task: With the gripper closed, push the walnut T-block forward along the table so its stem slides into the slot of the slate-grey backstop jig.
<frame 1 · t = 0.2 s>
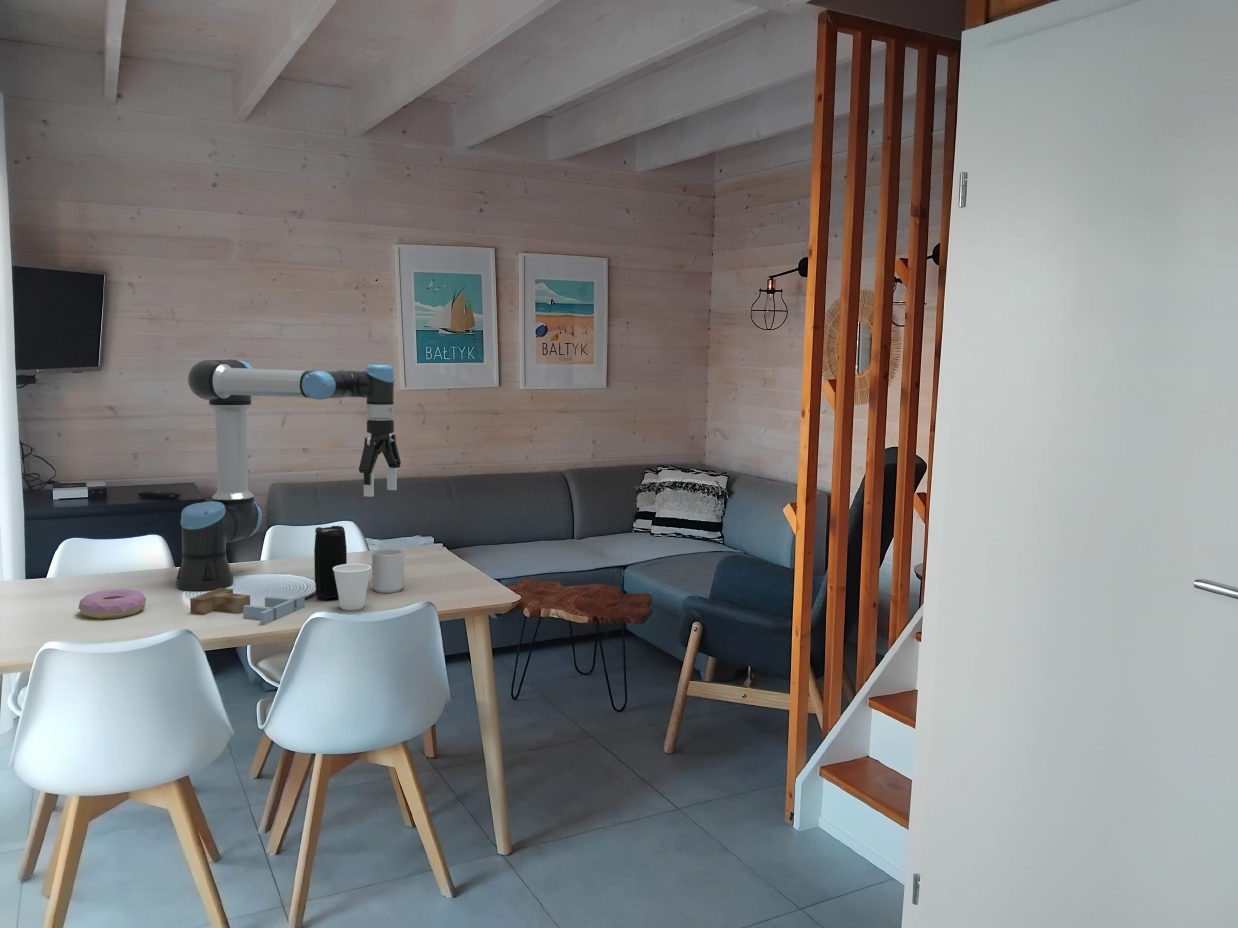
hand: (380, 493, 274), 28 cm above the table, fingers open, 13 cm apart
portable speaker: (331, 598, 266), on the table
t block: (212, 608, 252), on the table
slot jig: (266, 613, 248), on the table
mug: (387, 589, 277), on the table
cup: (352, 608, 256), on the table
donut: (113, 613, 246), on the table
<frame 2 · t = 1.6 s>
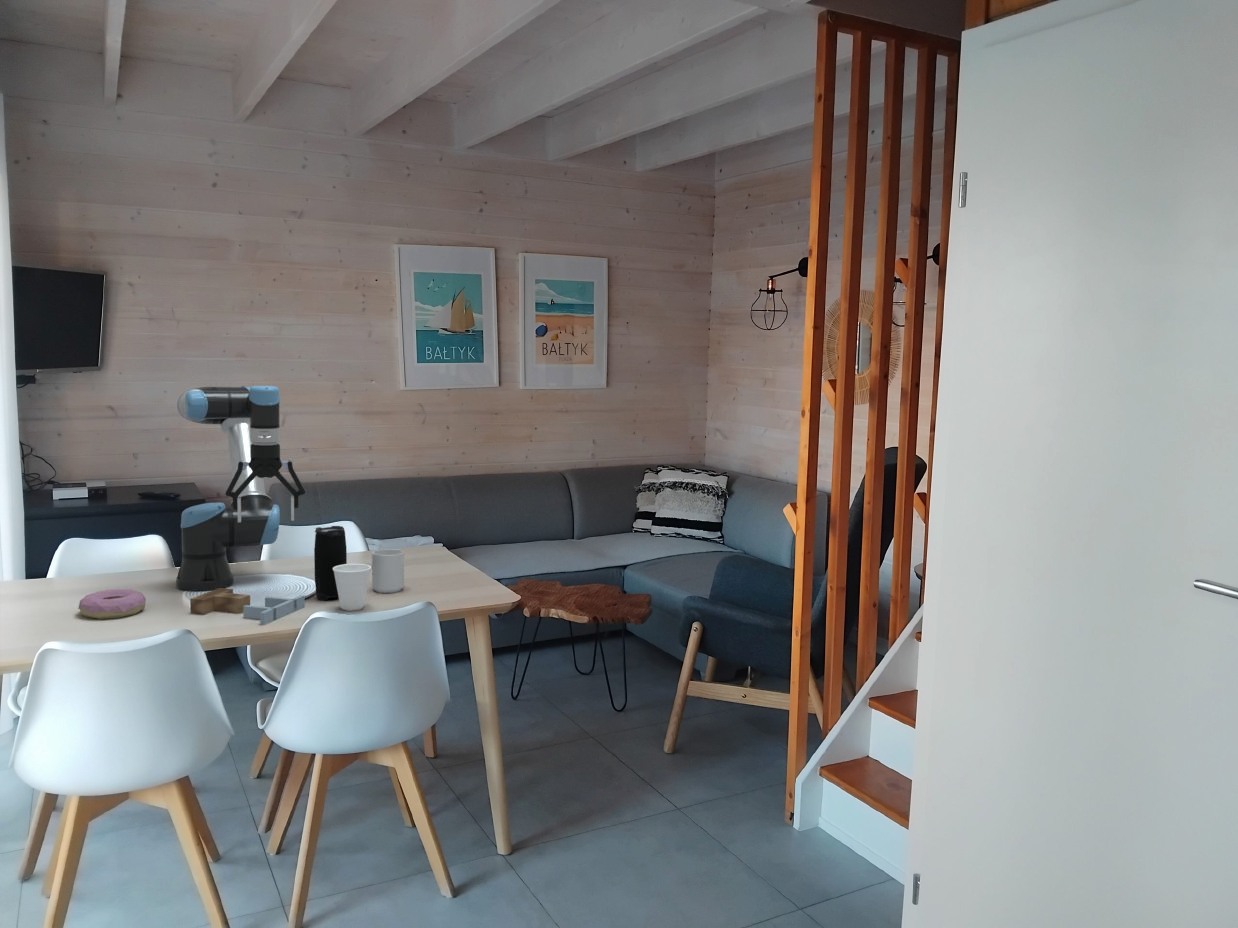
hand: (266, 520, 261), 22 cm above the table, fingers open, 13 cm apart
nothing on the table moved.
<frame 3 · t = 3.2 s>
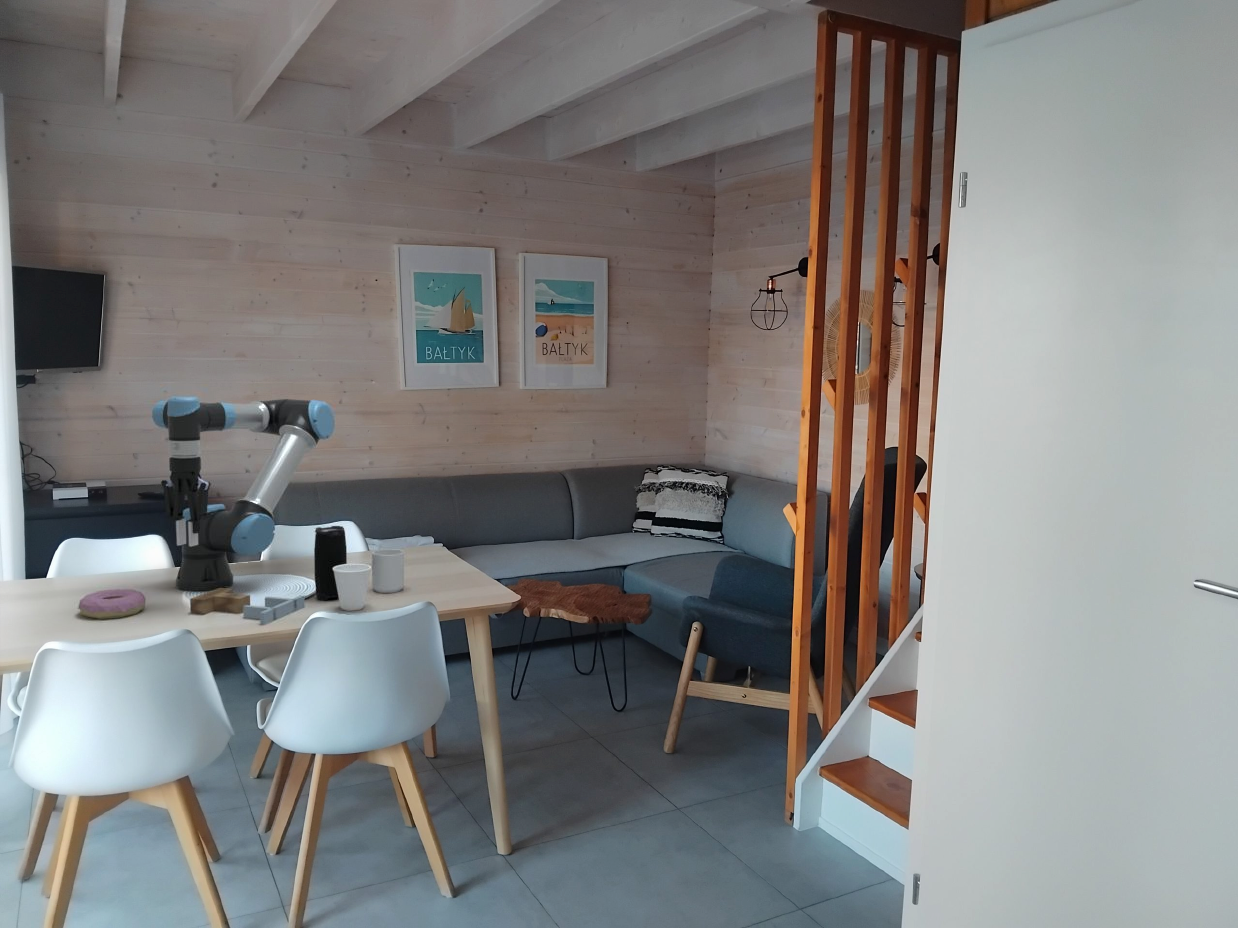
hand: (187, 544, 252), 17 cm above the table, fingers open, 3 cm apart
nothing on the table moved.
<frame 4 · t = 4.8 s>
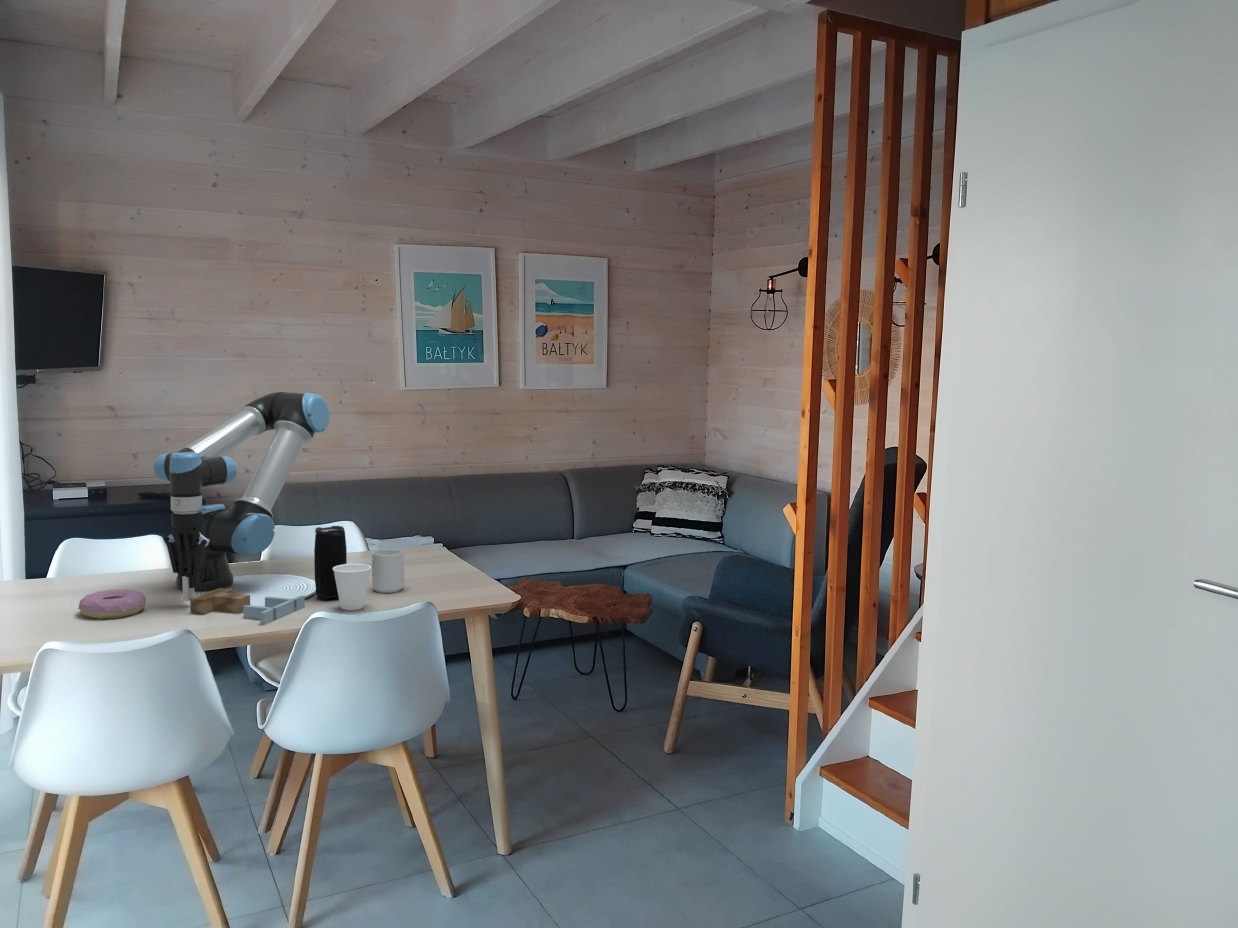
hand: (188, 599, 253), 2 cm above the table, fingers closed
nothing on the table moved.
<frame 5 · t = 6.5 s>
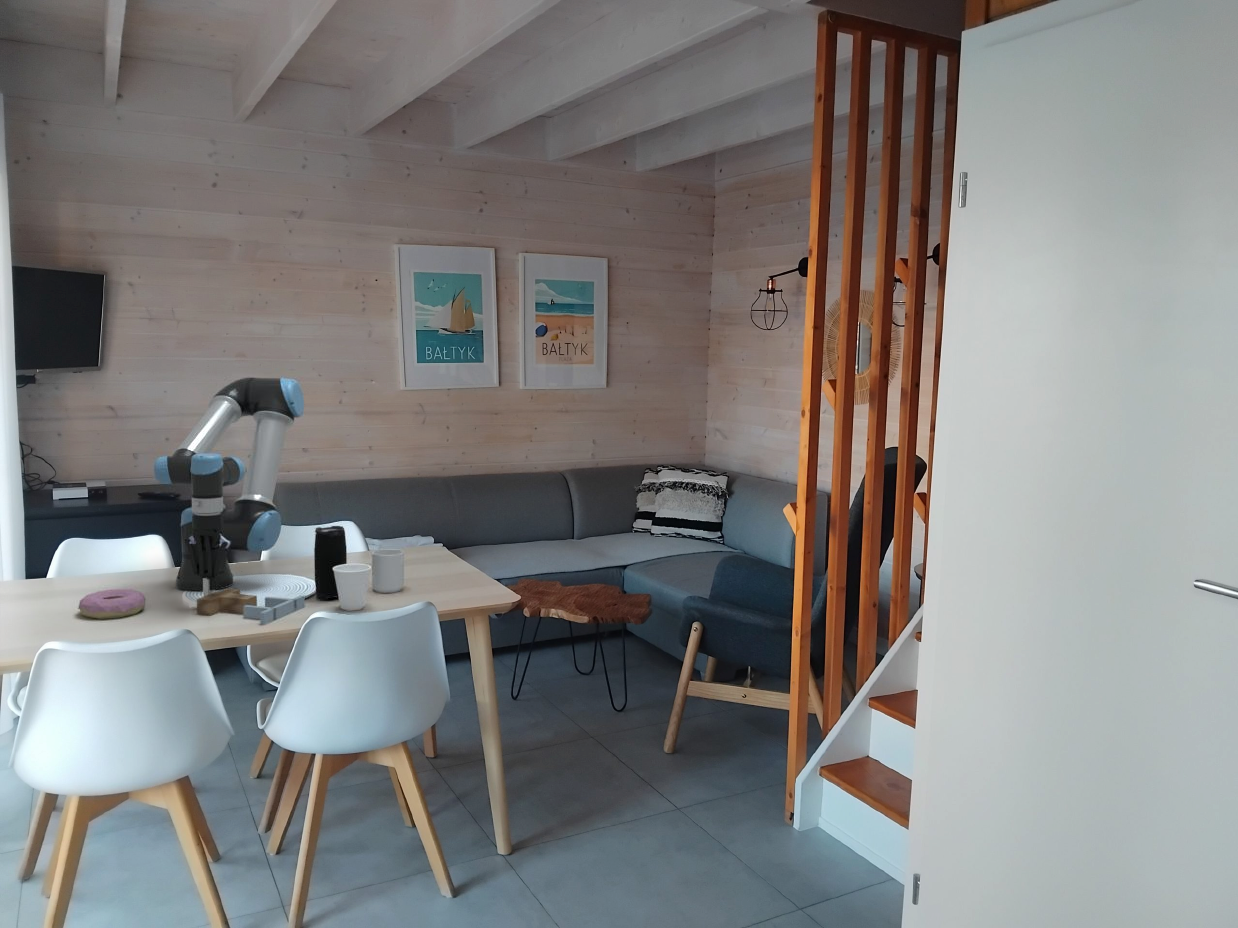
hand: (209, 601, 251), 2 cm above the table, fingers closed
t block: (219, 609, 251), on the table
everything else where it was.
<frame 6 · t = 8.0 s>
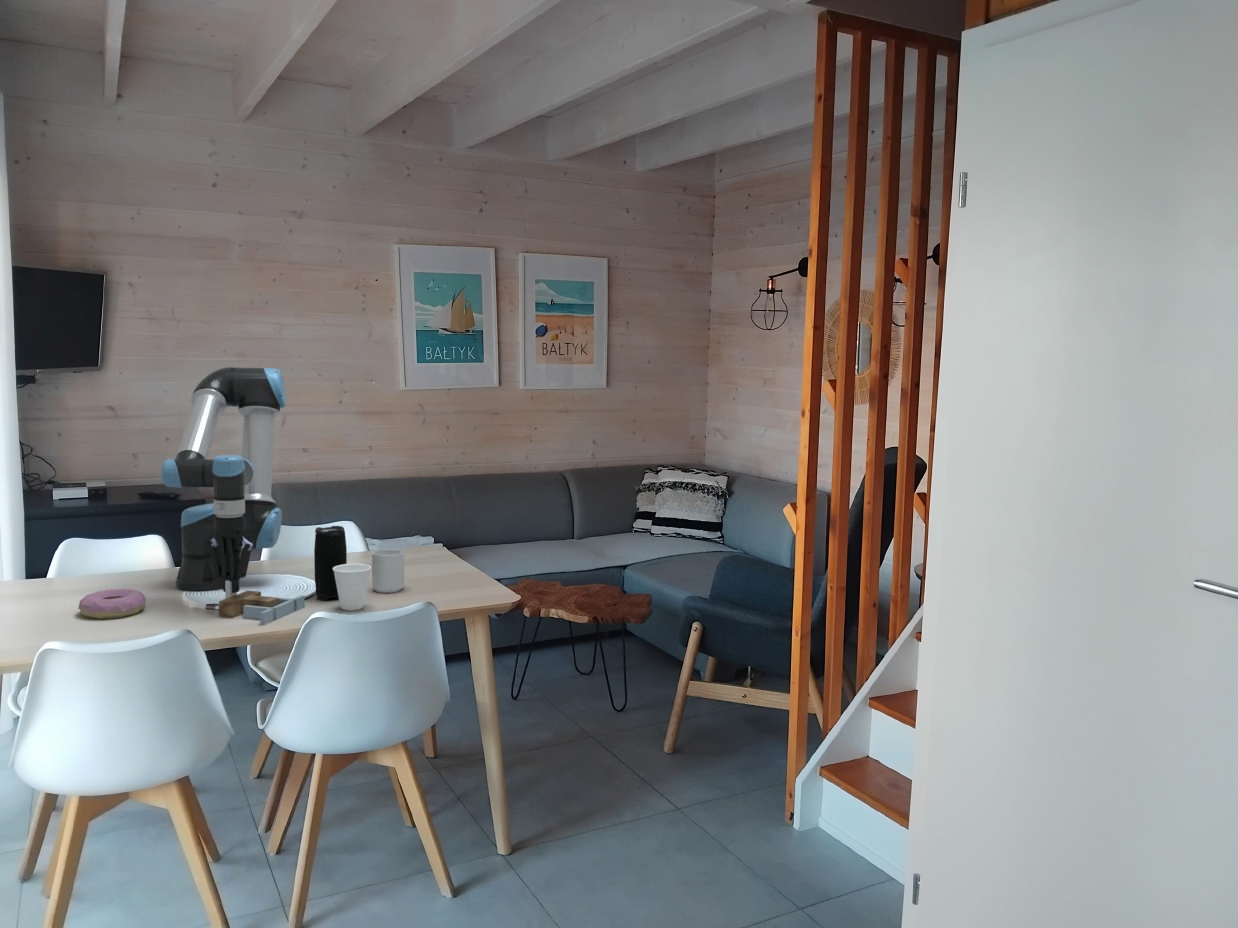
hand: (231, 604, 250), 2 cm above the table, fingers closed
t block: (240, 611, 250), on the table
everything else where it was.
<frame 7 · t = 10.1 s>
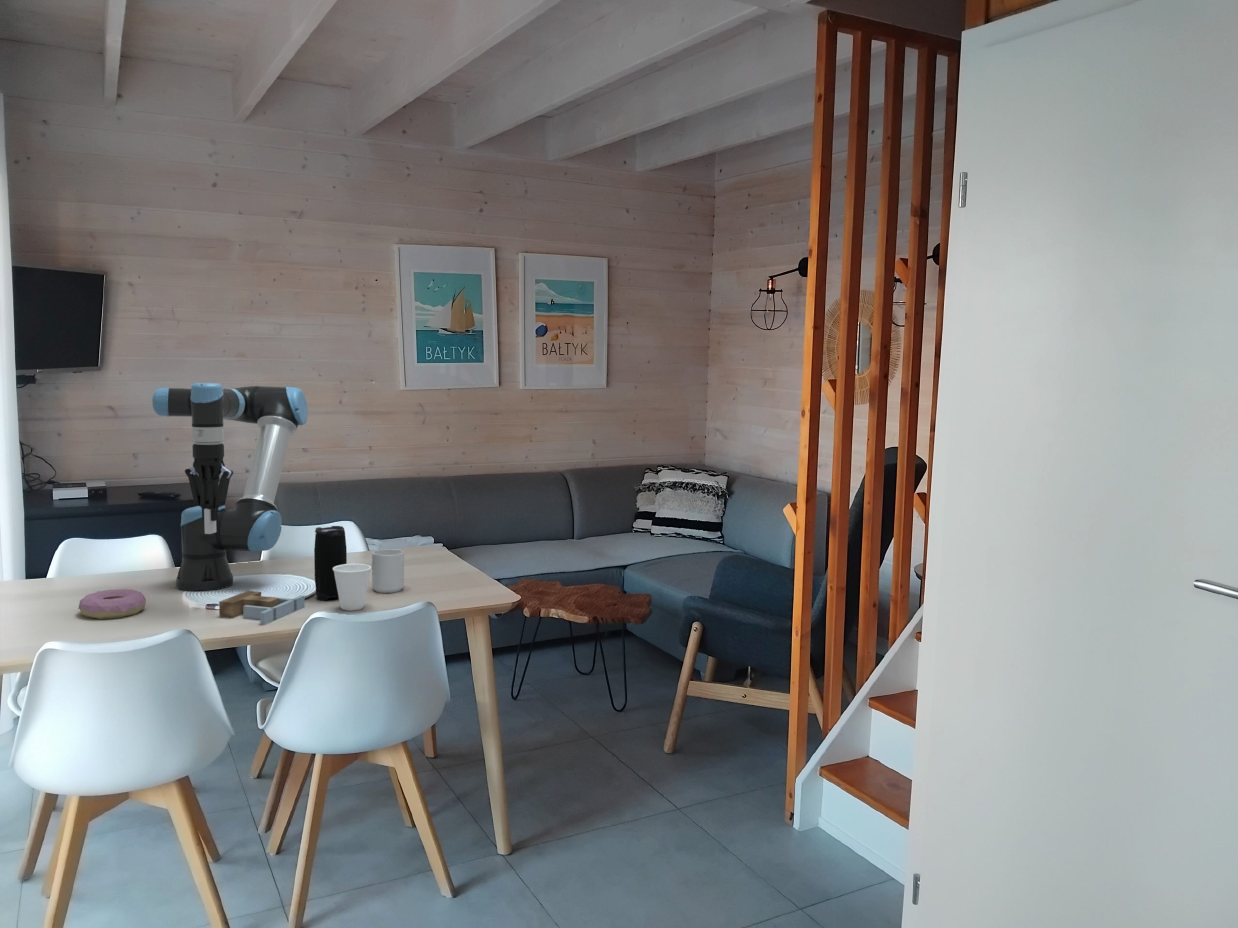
hand: (210, 532, 250), 20 cm above the table, fingers closed
nothing on the table moved.
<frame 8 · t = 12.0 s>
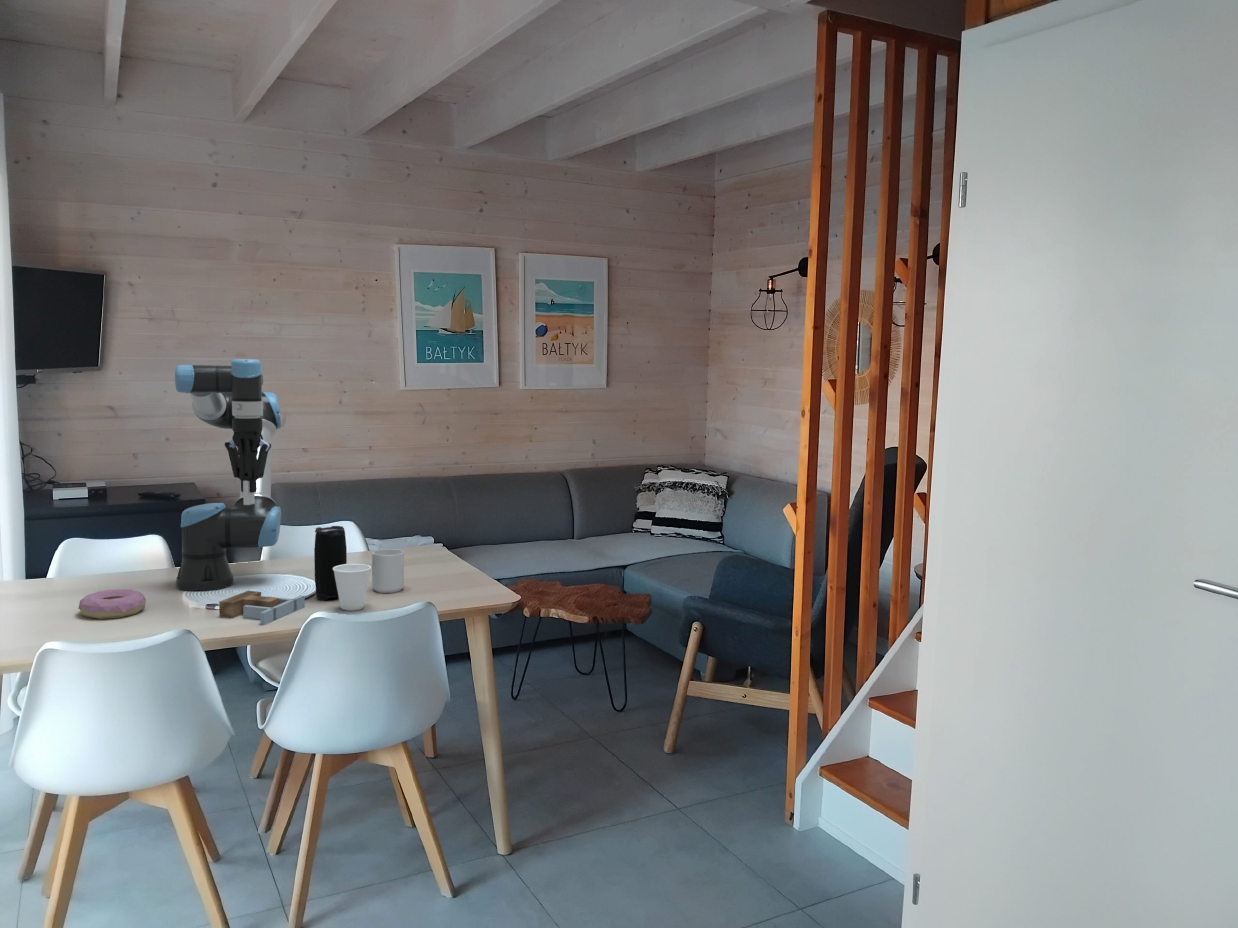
hand: (249, 504, 259), 26 cm above the table, fingers closed
nothing on the table moved.
at the end: t block 0.4 cm from the target spot on the table beside the slot jig, on the table; t block moved 8.7 cm from its start; t block tilted 0° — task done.
